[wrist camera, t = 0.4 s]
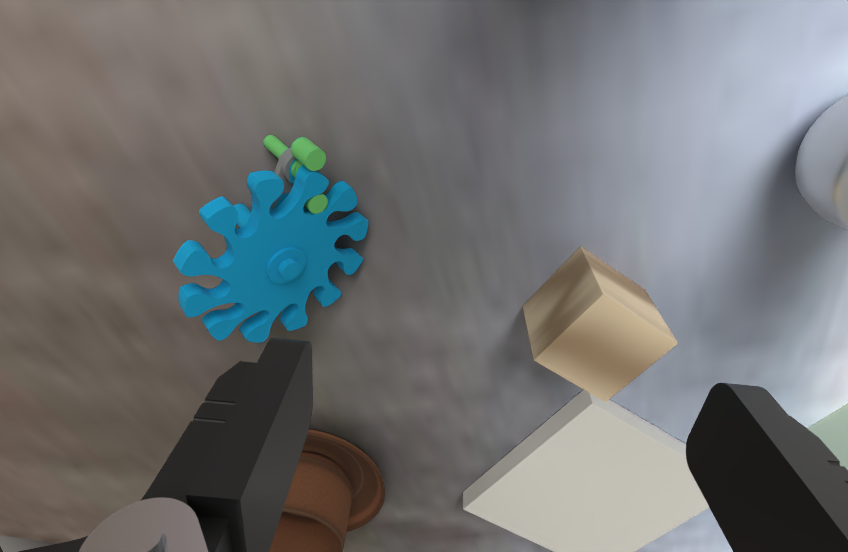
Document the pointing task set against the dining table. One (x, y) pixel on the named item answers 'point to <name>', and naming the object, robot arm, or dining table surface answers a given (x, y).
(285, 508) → the cup and saucer
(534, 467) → the base plate
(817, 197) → the plastic bottle
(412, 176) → the dining table surface
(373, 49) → the dining table surface
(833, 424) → the sage block
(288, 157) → the gear
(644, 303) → the beech block
